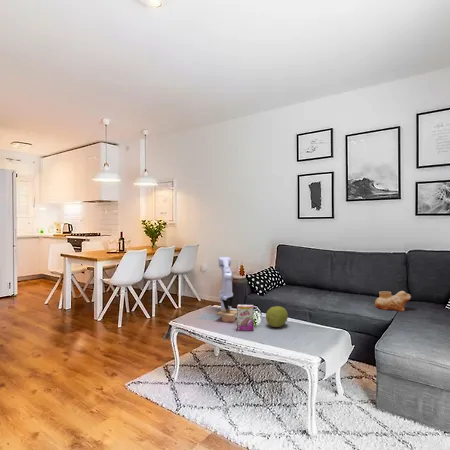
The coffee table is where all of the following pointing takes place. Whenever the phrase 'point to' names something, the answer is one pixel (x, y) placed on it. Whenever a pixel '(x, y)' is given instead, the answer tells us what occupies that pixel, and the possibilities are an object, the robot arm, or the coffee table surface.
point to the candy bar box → (245, 317)
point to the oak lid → (227, 312)
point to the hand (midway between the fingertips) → (228, 307)
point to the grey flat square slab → (209, 316)
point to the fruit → (276, 316)
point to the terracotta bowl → (228, 319)
